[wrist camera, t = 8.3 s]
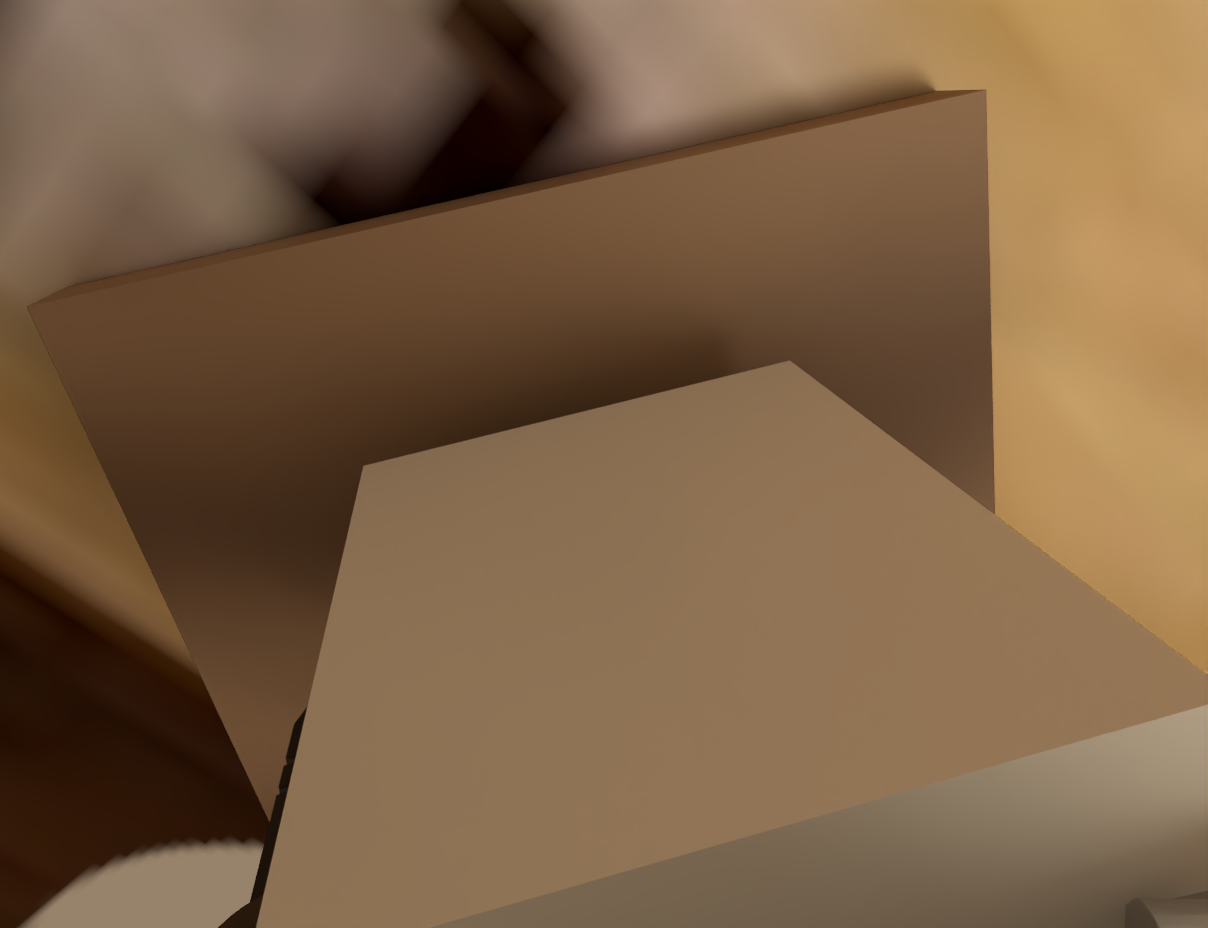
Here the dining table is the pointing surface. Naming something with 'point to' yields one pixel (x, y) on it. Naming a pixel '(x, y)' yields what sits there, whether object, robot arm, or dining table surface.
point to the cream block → (725, 692)
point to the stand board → (516, 352)
